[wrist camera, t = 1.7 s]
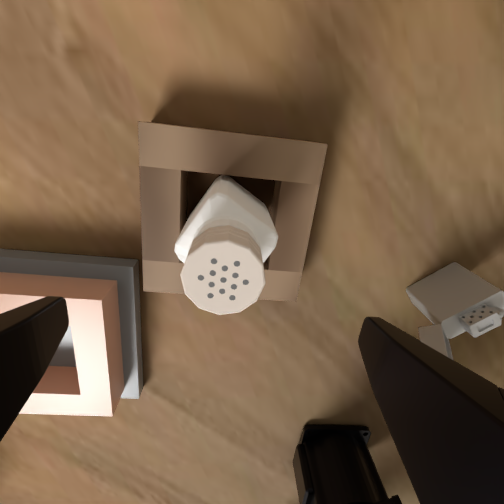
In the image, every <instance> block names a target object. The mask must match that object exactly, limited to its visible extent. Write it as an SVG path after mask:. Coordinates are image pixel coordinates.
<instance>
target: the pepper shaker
mask: <svg viewBox="0 0 504 504" xmlns="http://www.w3.org/2000/svg"><path fill="white" fill-rule="evenodd" d="M277 240H278V234H277V232H276V229H275V227H274V224H273V221H272V219H271V216H270V214H269V211H268V209H267V207H266V205H265V204H264V203H263V202H262V201H260V200H259V199H258V198H257V197H255V196H254V195H253V194H251V193H250V192H249V191H248V190H246V189H245V188H244V187H242V186H241V185H240V184H238V183H237V182H236V181H235V180H233V179H232V178H231V177H229V176H225V175H221V176H219V177H217V178H216V179H215V180H214V182H213V183H212V184H211V186H210V187H209V189H208V190H207V191H206V193H205V194H204V196H203V197H202V198H201V200H200V201H199V203H198V204H197V205H196V207H195V208H194V209H193V211H192V212H191V214H190V216H189V218H188V219H187V221H186V223H185V225H184V227H183V229H182V231H181V233H180V235H179V237H178V239H177V241H176V243H175V249H174V251H175V253H176V255H177V257H178V258H179V260H180V261H182V262H183V263H184V266H183V268H182V271H181V274H180V276H181V280H182V284H183V288H184V292H185V295H186V296H187V297H188V298H189V299H190V300H191V301H192V302H193V303H194V304H195V305H196V306H197V307H198V308H199V309H202V310H205V311H209V312H212V313H215V314H218V315H223V314H230V313H238V312H241V311H243V310H244V309H245V308H247V307H248V306H250V305H251V304H253V303H254V302H256V301H257V300H258V298H259V296H260V294H261V292H262V290H263V288H264V285H265V283H266V282H265V274H264V265H263V263H264V262H265V260H266V259H267V258H268V257H269V255H270V254H271V253H272V251H273V250H274V249H275V247H276V244H277Z"/></svg>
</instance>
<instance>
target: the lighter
mask: <svg viewBox="0 0 504 504" xmlns="http://www.w3.org/2000/svg"><path fill="white" fill-rule="evenodd" d="M406 292H407V294H408V296H409V298H410V300H411V302H412V303H413V304H414V305H415V306H416V307H417V308H418V309H419V310H420V311H421V312H422V313H423V314H424V315H425V316H426V317H427V318H428V319H429V320H430V321H431V322H432V323H433V324H434V325H432V326H425V327H419V328H418V330H419V337H420V341H421V342H423V343H424V344H426V345H428V346H430V347H431V348H433V349H435V350H436V351H438V352H440V353H442V354H443V355H445V356H447V357H449V358H450V359H452V360H453V356H452V351H451V347H450V342H449V339H452V338H454V337H456V336H458V335H460V334H462V333H464V332H466V331H467V332H468V333H469V334H471V335H472V336H473V337H475V338H476V337H478V336H480V335H482V334H484V333H486V332H488V331H490V330H492V329H494V328H496V327H498V326H500V325H501V320H502V317H503V316H504V292H503V291H502V290H500V289H499V288H497V287H495V286H494V285H492V284H490V283H489V282H487V281H486V280H484V279H482V278H481V277H479V276H477V275H476V274H474V273H473V272H471V271H469V270H468V269H466V268H464V267H463V266H461V265H460V264H458V263H456V262H453V263H451V264H449V265H447V266H445V267H444V268H442V269H440V270H438V271H436V272H435V273H433V274H431V275H429V276H427V277H425V278H424V279H422V280H420V281H418V282H416V283H414V284H413V285H411V286H409V287H407V288H406ZM448 338H449V339H448Z"/></svg>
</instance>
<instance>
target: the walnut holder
mask: <svg viewBox="0 0 504 504" xmlns="http://www.w3.org/2000/svg"><path fill="white" fill-rule="evenodd" d="M138 138H139V169H140V201H141V232H142V264H143V291H147V292H162V293H176V294H185V292H184V288H183V284H182V280H181V276H180V274H181V271H182V268H183V266H184V263H183V262H182V261H180V260H179V258H178V257H177V255H176V253H175V251H174V249H175V243H176V241H177V239H178V237H179V235H180V233H181V231H182V229H183V227H184V225H185V223H186V202H187V171H193V172H203V173H212V174H221V175H231V176H240V177H249V178H259V179H268V180H275V186H274V193H273V200H272V207H271V214H270V216H271V219H272V221H273V224H274V227H275V229H276V232H277V234H278V240H277V244H276V247H275V249H274V250H273V251H272V253H271V254H270V255H269V257H268V258H267V259H266V260H265V262H264V263H263V265H264V274H265V282H266V283H265V285H264V288H263V290H262V292H261V294H260V296H259V298H258V299H262V300H277V301H291V302H297V297H298V292H299V287H300V282H301V277H302V272H303V267H304V261H305V256H306V251H307V246H308V241H309V236H310V231H311V226H312V221H313V216H314V211H315V206H316V201H317V196H318V191H319V186H320V181H321V176H322V171H323V166H324V161H325V156H326V151H327V146H328V144H324V143H319V142H312V141H304V140H295V139H287V138H279V137H270V136H262V135H254V134H245V133H237V132H229V131H221V130H212V129H204V128H196V127H187V126H179V125H171V124H163V123H154V122H140V121H138Z"/></svg>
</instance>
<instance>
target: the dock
mask: <svg viewBox="0 0 504 504" xmlns="http://www.w3.org/2000/svg"><path fill="white" fill-rule="evenodd" d="M47 296H59V297H63V298H65V300H66V303H67V310H68V317H69V326H68V329H67V331H66V333H65V335H64V337H63V339H62V341H61V343H60V345H59V347H58V349H57V351H56V353H55V355H54V357H53V358H52V360H51V362H50V364H49V366H48V368H47V370H46V372H45V374H44V375H43V377H42V379H41V380H40V382H39V383H38V385H37V387H36V388H35V390H34V391H33V393H32V394H31V396H30V397H29V399H28V400H27V402H26V403H25V405H24V406H23V408H22V409H21V411H20V413H21V414H53V415H85V416H113V414H114V412H115V410H116V407H117V405H118V402H119V400H120V398H130V399H139V398H140V395H141V392H142V389H143V367H142V340H141V314H140V287H139V260H137V259H124V258H112V257H99V256H86V255H73V254H61V253H48V252H35V251H23V250H10V249H0V314H1V313H4V312H6V311H9V310H12V309H14V308H17V307H20V306H22V305H25V304H28V303H30V302H33V301H36V300H38V299H41V298H44V297H47Z"/></svg>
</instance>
